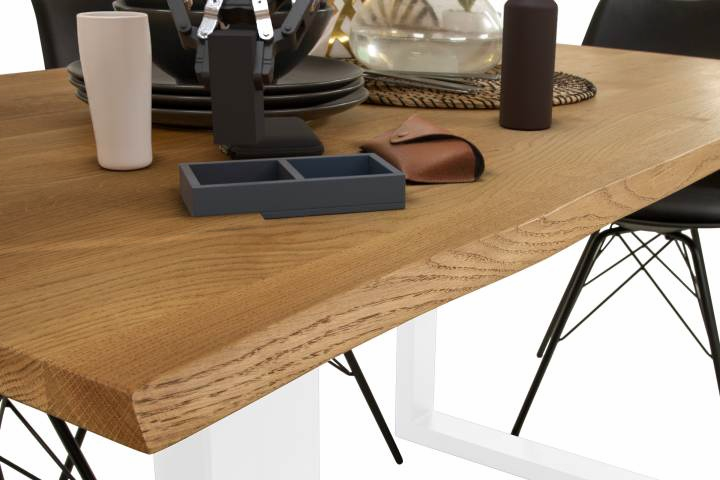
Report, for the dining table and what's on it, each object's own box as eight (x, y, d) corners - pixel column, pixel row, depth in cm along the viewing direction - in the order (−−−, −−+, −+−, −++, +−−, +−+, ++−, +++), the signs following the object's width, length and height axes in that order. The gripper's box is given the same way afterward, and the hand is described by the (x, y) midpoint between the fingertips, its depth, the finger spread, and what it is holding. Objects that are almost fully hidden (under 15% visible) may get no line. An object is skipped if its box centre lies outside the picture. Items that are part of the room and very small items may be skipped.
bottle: (555, 123, 132) (564, -38, 125) (547, 132, 126) (556, -37, 119) (504, 119, 133) (511, -40, 127) (493, 128, 127) (500, -38, 120)
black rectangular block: (213, 144, 85) (207, 34, 82) (224, 133, 90) (218, 28, 86) (256, 145, 85) (251, 35, 82) (265, 133, 90) (260, 29, 87)
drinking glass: (80, 172, 100) (64, 15, 95) (105, 158, 106) (90, 10, 101) (148, 174, 100) (135, 17, 95) (168, 159, 106) (157, 12, 101)
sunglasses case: (352, 144, 113) (381, 92, 112) (402, 173, 116) (431, 122, 115) (406, 181, 97) (440, 120, 96) (463, 212, 101) (496, 154, 100)
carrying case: (214, 142, 115) (223, 171, 102) (212, 115, 114) (221, 141, 101) (307, 139, 118) (327, 167, 105) (306, 113, 117) (327, 137, 104)
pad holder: (405, 208, 90) (405, 174, 89) (194, 224, 83) (192, 187, 82) (374, 184, 98) (374, 152, 97) (180, 196, 92) (178, 163, 91)
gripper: (160, -106, 87) (136, 54, 80) (324, -103, 88) (314, 57, 80) (178, -43, 94) (157, 110, 87) (330, -40, 94) (322, 112, 87)
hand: (233, 83), depth 84 cm, fingers closed on black rectangular block, 3 cm apart
